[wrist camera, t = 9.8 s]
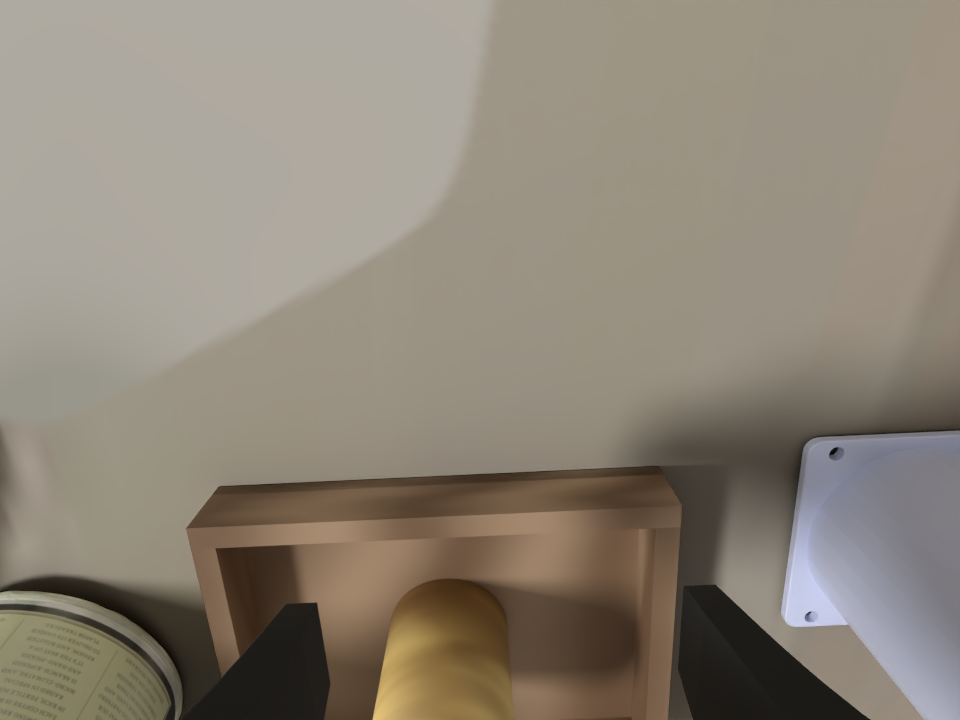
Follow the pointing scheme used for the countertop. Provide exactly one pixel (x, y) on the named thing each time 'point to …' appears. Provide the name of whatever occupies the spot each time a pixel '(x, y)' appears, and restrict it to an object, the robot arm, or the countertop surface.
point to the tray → (461, 577)
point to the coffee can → (80, 663)
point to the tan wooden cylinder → (446, 656)
